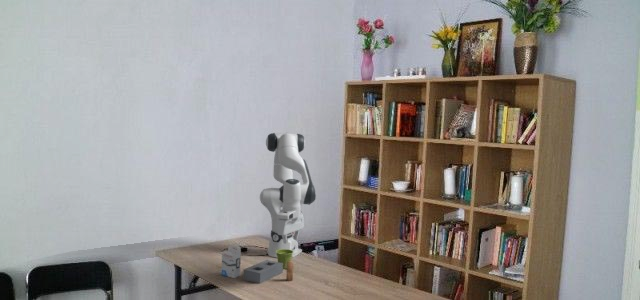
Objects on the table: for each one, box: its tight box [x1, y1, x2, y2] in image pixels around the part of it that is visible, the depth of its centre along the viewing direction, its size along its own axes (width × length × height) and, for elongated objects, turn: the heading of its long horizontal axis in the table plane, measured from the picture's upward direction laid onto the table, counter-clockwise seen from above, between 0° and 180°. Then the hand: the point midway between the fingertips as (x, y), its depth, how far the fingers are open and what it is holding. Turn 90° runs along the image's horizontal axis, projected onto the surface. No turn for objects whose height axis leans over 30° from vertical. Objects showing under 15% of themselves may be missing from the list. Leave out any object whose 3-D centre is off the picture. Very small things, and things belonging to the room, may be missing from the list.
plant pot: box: [276, 249, 293, 270], centre depth 250 cm, size 9×9×9 cm
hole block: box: [242, 259, 284, 284], centre depth 235 cm, size 20×10×5 cm, turn 152°
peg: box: [286, 260, 294, 282], centre depth 230 cm, size 3×3×9 cm
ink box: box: [220, 243, 242, 279], centre depth 234 cm, size 8×5×15 cm, turn 60°
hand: (290, 241), depth 229 cm, fingers open, 8 cm apart
